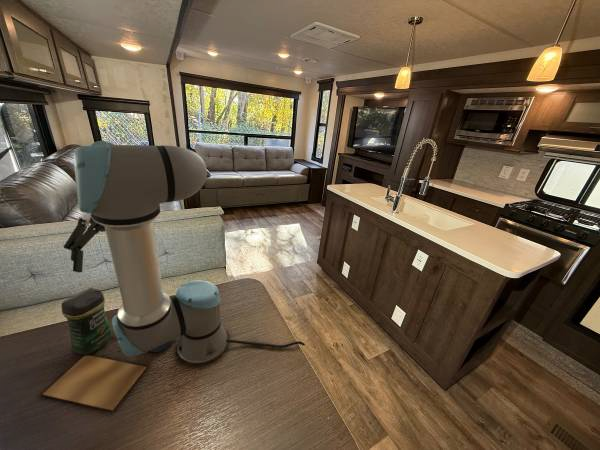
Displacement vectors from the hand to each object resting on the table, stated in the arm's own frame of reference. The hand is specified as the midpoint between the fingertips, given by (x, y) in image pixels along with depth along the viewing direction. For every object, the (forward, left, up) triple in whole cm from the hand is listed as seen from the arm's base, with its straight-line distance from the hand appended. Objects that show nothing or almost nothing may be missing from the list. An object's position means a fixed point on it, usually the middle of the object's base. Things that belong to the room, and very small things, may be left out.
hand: (103, 267), depth 74 cm
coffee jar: (+4, +6, -26) cm, 27 cm away
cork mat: (-7, +16, -26) cm, 31 cm away
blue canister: (-15, +1, -26) cm, 30 cm away
